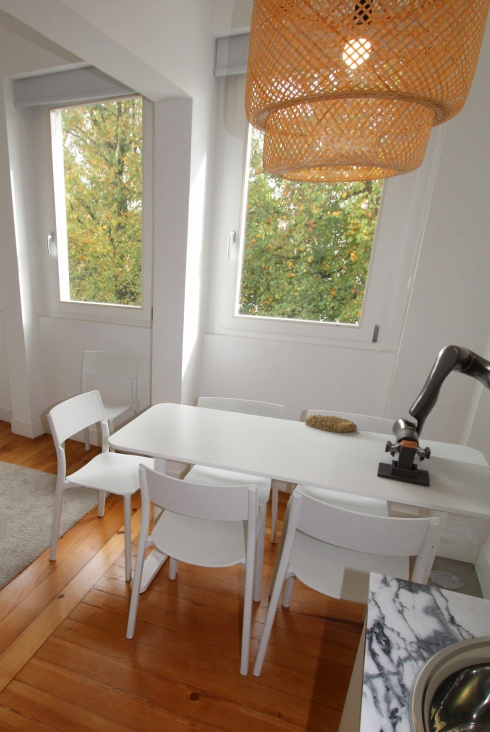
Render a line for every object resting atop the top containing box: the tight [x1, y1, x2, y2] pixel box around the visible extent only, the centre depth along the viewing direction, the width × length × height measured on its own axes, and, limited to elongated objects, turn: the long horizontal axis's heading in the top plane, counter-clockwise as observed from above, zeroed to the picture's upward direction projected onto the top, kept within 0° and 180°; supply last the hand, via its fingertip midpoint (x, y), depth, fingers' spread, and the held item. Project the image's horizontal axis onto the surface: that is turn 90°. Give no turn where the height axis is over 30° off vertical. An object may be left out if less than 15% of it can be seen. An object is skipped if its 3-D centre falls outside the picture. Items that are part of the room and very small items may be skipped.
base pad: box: [377, 459, 430, 487], centre depth 166 cm, size 16×12×4 cm
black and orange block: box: [396, 440, 417, 470], centre depth 164 cm, size 5×5×11 cm
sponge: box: [305, 414, 358, 433], centre depth 207 cm, size 13×8×20 cm
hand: (407, 456), depth 162 cm, fingers open, 8 cm apart
